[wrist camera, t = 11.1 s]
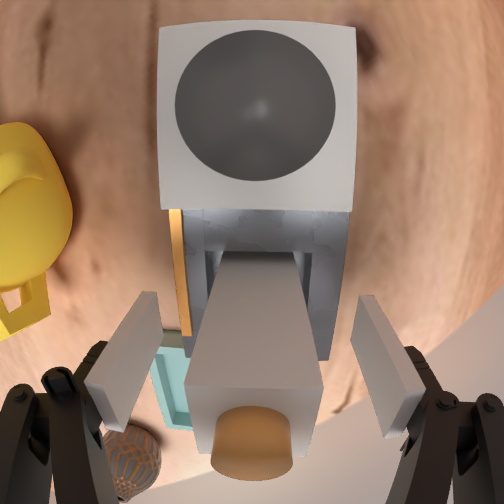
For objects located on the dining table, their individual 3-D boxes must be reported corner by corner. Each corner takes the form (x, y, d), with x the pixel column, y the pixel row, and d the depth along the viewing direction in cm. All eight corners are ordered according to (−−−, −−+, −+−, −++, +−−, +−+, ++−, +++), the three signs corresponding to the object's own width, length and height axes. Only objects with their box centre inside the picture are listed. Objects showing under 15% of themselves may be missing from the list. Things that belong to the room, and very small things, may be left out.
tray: (171, 412, 26) (166, 427, 24) (151, 328, 22) (143, 344, 20) (277, 418, 25) (278, 435, 24) (285, 334, 22) (287, 352, 20)
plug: (226, 306, 20) (193, 485, 8) (224, 248, 18) (172, 423, 7) (288, 307, 20) (309, 488, 8) (292, 249, 18) (331, 427, 7)
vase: (100, 427, 28) (75, 485, 20) (122, 407, 26) (94, 475, 18) (149, 456, 30) (133, 514, 22) (178, 440, 28) (162, 508, 19)
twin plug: (223, 162, 17) (133, 231, 5) (223, 92, 15) (132, 2, 3) (296, 163, 16) (375, 234, 5) (297, 92, 15) (379, 2, 3)
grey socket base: (195, 326, 22) (184, 360, 18) (183, 57, 15) (164, 41, 12) (320, 329, 22) (329, 363, 18) (337, 59, 15) (355, 42, 11)
